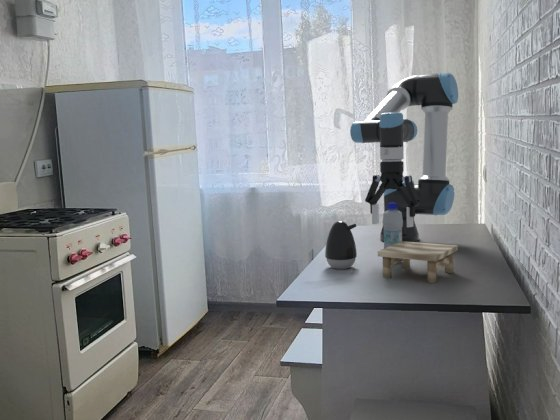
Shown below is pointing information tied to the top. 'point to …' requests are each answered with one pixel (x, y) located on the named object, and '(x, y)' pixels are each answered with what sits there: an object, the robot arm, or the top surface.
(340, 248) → the pump dispenser
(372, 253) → the top surface
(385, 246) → the bottle
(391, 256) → the footstool
